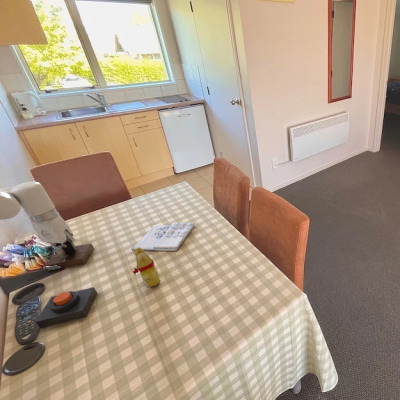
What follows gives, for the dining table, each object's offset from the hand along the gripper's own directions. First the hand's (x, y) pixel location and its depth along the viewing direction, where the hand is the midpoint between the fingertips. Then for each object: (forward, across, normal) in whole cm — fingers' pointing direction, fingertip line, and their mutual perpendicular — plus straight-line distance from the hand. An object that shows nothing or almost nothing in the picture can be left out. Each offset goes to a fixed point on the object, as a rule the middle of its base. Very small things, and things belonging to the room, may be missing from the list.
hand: (68, 252), depth 107 cm
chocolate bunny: (+4, +39, -7) cm, 40 cm away
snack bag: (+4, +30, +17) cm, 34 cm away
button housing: (+4, +21, -22) cm, 31 cm away
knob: (+1, 0, 0) cm, 1 cm away
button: (-1, +21, -22) cm, 31 cm away
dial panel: (+4, 0, 0) cm, 4 cm away
